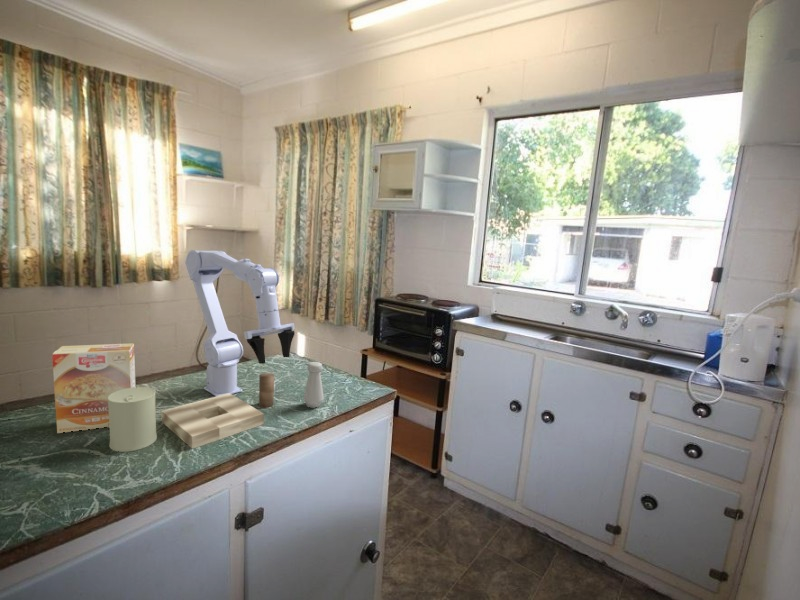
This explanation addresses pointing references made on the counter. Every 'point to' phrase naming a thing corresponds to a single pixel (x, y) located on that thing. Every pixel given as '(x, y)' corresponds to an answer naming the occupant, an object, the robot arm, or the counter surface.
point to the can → (132, 419)
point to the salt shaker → (314, 386)
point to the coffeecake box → (89, 383)
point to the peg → (266, 390)
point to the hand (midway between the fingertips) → (274, 360)
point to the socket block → (211, 419)
